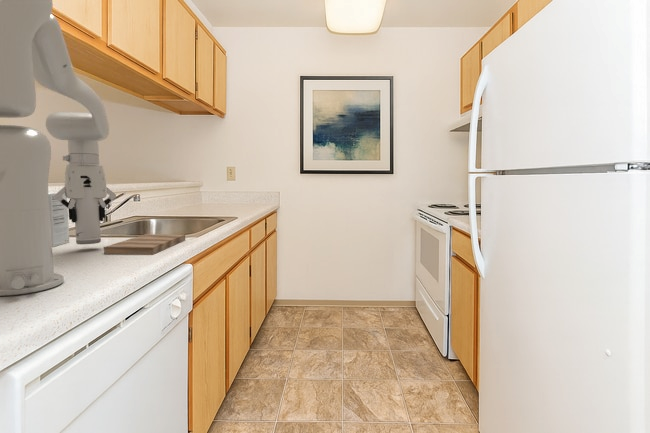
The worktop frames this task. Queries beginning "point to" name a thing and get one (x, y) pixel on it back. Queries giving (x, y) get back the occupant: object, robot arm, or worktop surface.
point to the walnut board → (145, 244)
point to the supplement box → (58, 220)
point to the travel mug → (87, 217)
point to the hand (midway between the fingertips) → (87, 220)
